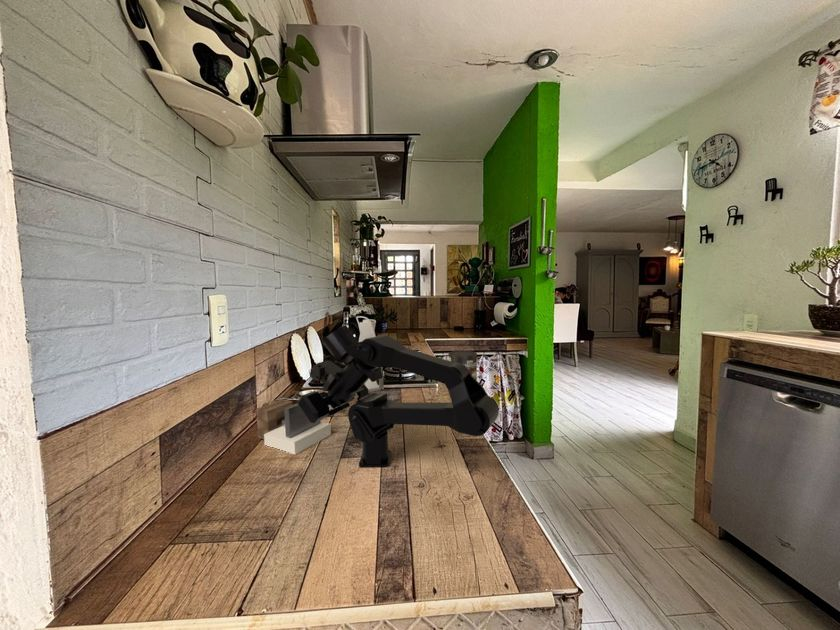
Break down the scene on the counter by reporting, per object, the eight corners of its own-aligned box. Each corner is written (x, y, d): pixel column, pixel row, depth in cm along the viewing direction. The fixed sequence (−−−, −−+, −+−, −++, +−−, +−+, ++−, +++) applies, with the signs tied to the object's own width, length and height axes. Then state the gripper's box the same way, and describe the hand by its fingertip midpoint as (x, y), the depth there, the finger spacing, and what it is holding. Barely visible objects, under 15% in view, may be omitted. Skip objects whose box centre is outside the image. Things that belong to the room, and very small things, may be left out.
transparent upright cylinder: (482, 392, 124) (482, 353, 123) (457, 396, 120) (457, 356, 118) (467, 385, 133) (467, 349, 132) (444, 389, 129) (443, 352, 128)
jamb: (293, 430, 94) (292, 401, 94) (268, 441, 87) (267, 411, 87) (283, 427, 96) (281, 399, 96) (258, 438, 89) (256, 408, 89)
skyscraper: (364, 393, 126) (361, 317, 124) (355, 388, 133) (352, 315, 131) (384, 389, 131) (382, 315, 129) (375, 384, 138) (373, 314, 135)
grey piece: (320, 422, 91) (319, 396, 90) (290, 437, 82) (288, 409, 82) (299, 418, 94) (298, 393, 94) (268, 432, 86) (267, 404, 85)
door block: (330, 434, 91) (330, 423, 91) (295, 454, 80) (294, 442, 80) (302, 427, 96) (301, 417, 96) (264, 445, 85) (264, 434, 85)
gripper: (357, 344, 88) (326, 382, 94) (301, 358, 72) (268, 403, 78) (384, 378, 85) (350, 414, 91) (332, 400, 69) (295, 443, 75)
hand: (318, 417), depth 84 cm, fingers closed
